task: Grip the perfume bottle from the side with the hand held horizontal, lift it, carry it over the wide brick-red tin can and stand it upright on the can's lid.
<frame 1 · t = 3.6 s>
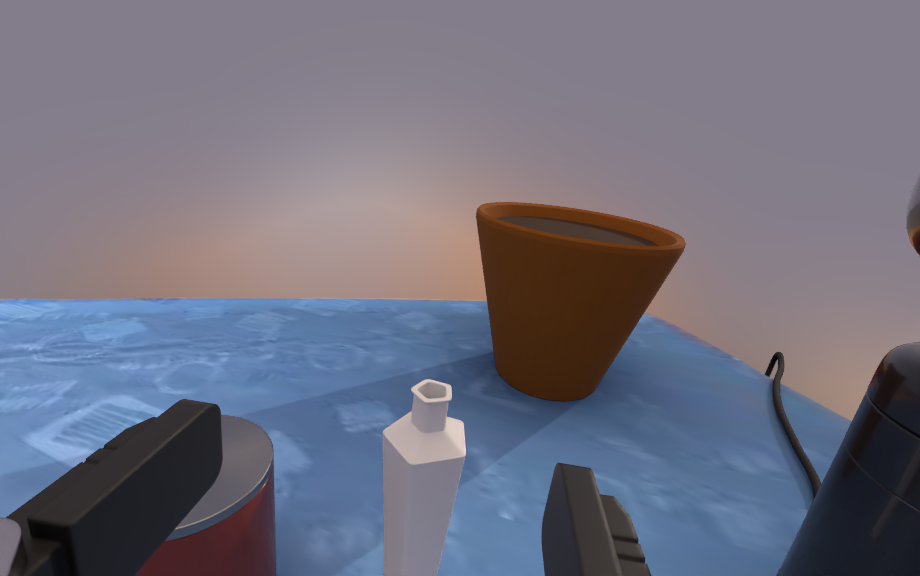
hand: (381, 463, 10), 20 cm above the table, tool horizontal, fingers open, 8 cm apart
flower pot: (545, 370, 58), on the table
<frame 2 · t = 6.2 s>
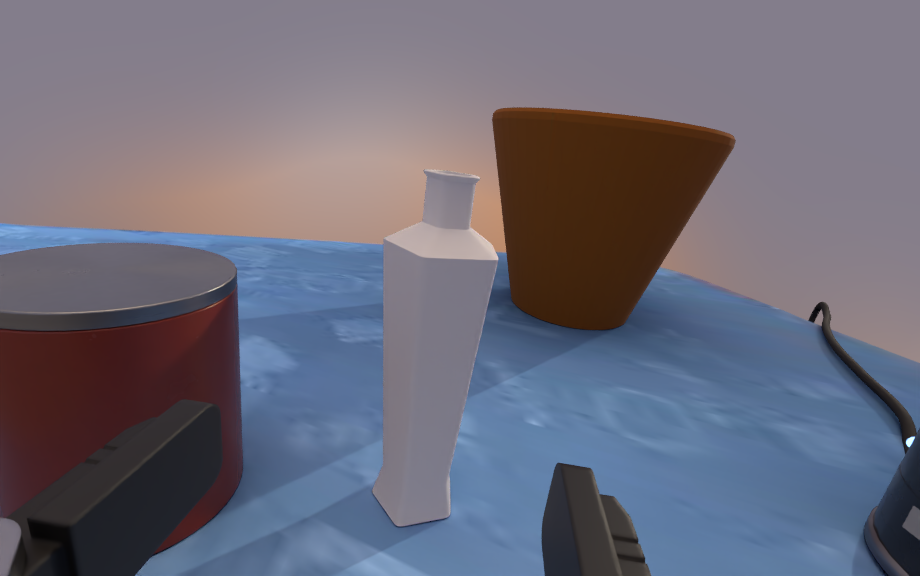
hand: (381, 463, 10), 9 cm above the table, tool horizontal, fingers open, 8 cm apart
tin can: (137, 486, 19), on the table
flower pot: (567, 306, 52), on the table
perfume bottle: (412, 500, 21), on the table
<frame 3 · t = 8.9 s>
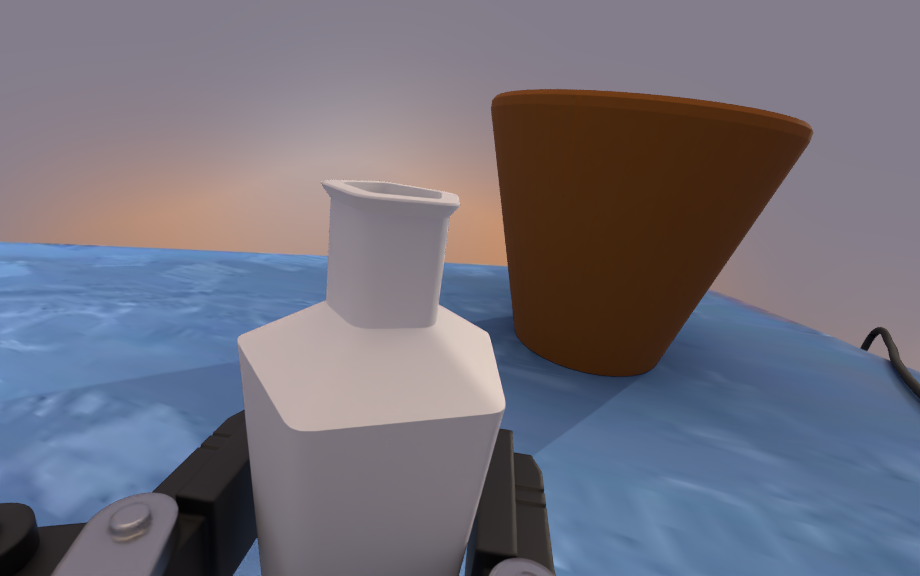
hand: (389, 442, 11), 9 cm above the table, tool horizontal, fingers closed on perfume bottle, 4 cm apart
flower pot: (583, 339, 42), on the table
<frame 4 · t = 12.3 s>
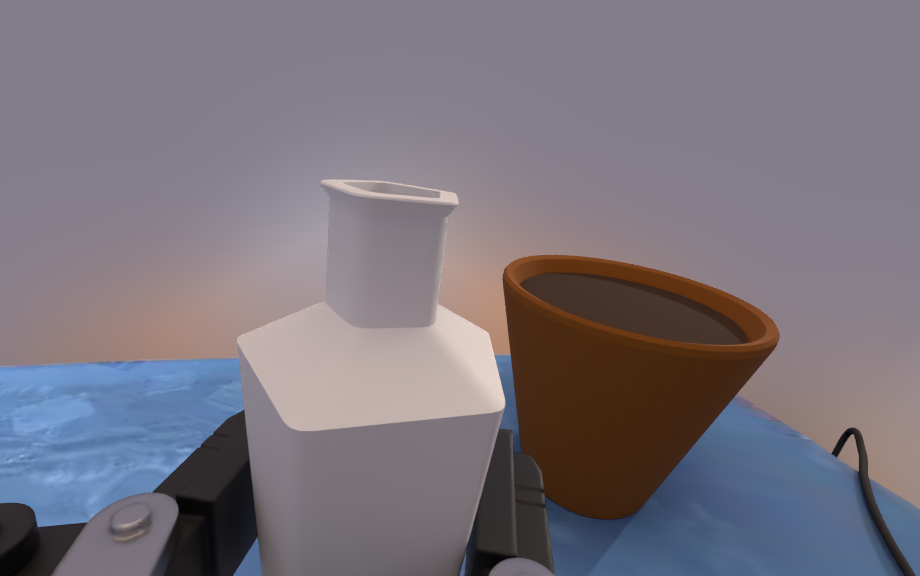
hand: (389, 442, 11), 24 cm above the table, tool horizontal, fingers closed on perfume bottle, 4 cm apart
flower pot: (583, 464, 47), on the table
when the fingers open (19 cm above the table, at t = 15.6 s): perfume bottle stays where it is, resting on tin can.
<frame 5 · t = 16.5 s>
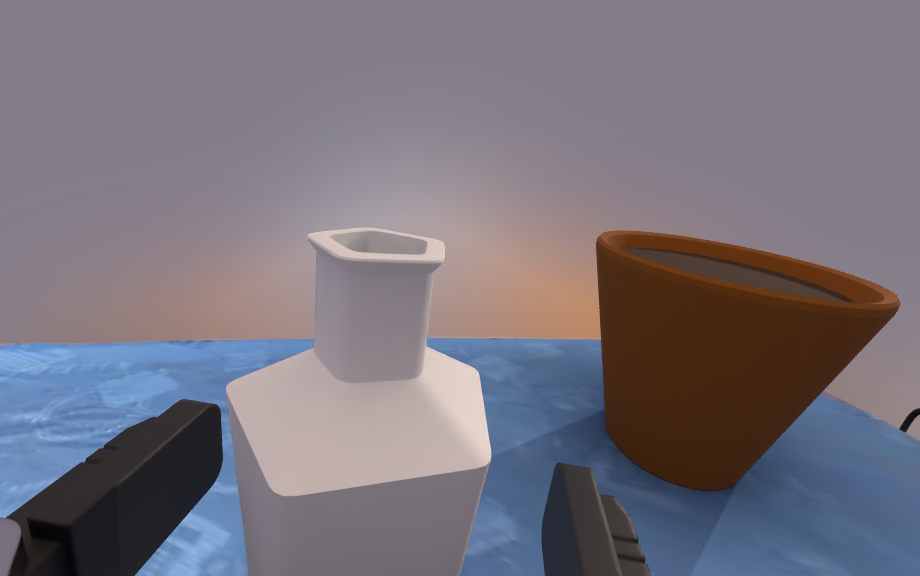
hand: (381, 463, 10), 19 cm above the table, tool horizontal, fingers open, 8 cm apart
flower pot: (669, 440, 47), on the table
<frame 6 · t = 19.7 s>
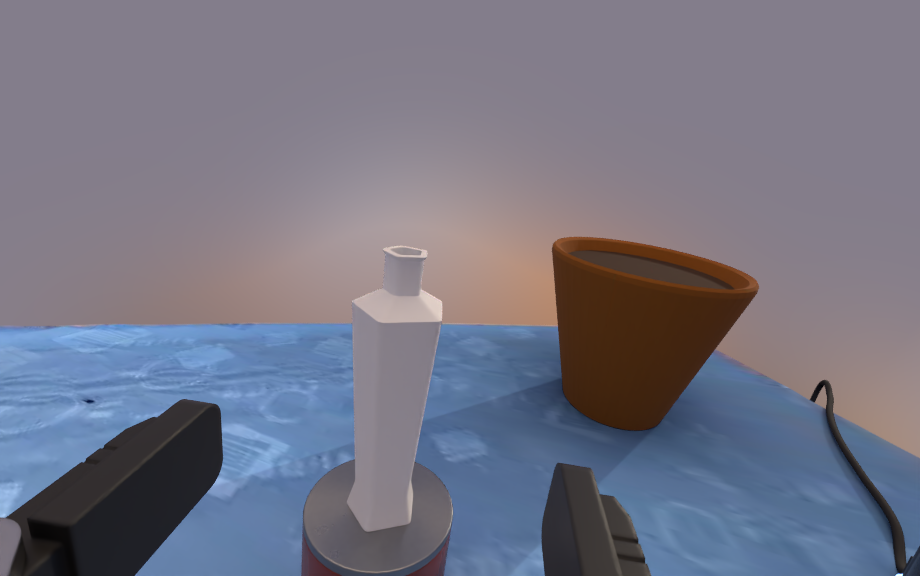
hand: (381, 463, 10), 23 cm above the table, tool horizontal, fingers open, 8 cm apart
flower pot: (610, 398, 60), on the table
perfume bottle: (380, 509, 25), point 10 cm above the table, touching tin can
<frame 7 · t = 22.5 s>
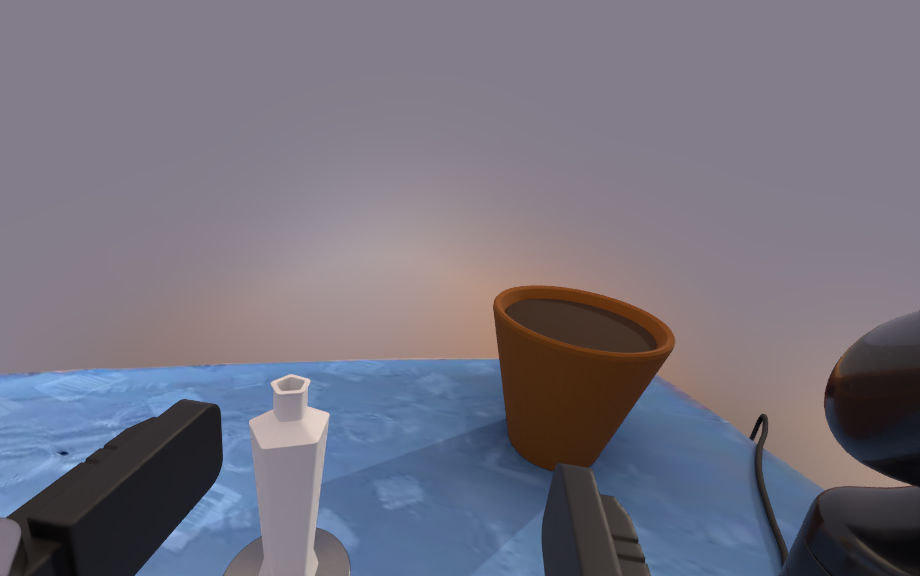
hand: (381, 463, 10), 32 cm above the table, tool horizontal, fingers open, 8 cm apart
flower pot: (552, 438, 65), on the table
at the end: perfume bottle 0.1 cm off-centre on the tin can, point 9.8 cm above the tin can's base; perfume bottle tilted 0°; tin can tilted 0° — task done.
